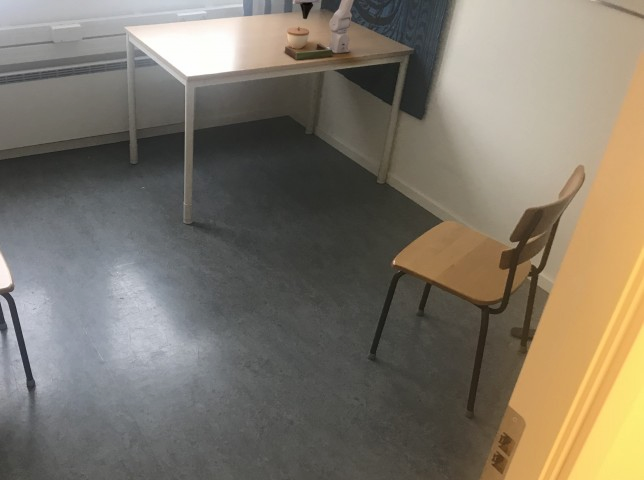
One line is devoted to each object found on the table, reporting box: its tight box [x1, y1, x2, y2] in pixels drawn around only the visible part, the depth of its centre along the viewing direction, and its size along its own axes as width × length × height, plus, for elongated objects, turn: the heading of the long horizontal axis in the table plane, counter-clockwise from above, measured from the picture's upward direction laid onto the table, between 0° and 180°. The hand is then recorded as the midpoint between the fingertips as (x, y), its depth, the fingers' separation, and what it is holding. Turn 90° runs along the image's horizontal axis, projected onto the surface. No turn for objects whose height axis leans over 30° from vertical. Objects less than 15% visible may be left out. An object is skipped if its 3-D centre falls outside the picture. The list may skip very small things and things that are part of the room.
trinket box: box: [286, 26, 310, 50], centre depth 346 cm, size 11×11×9 cm
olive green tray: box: [284, 43, 333, 61], centre depth 339 cm, size 12×19×3 cm, turn 111°
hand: (304, 18), depth 353 cm, fingers closed
